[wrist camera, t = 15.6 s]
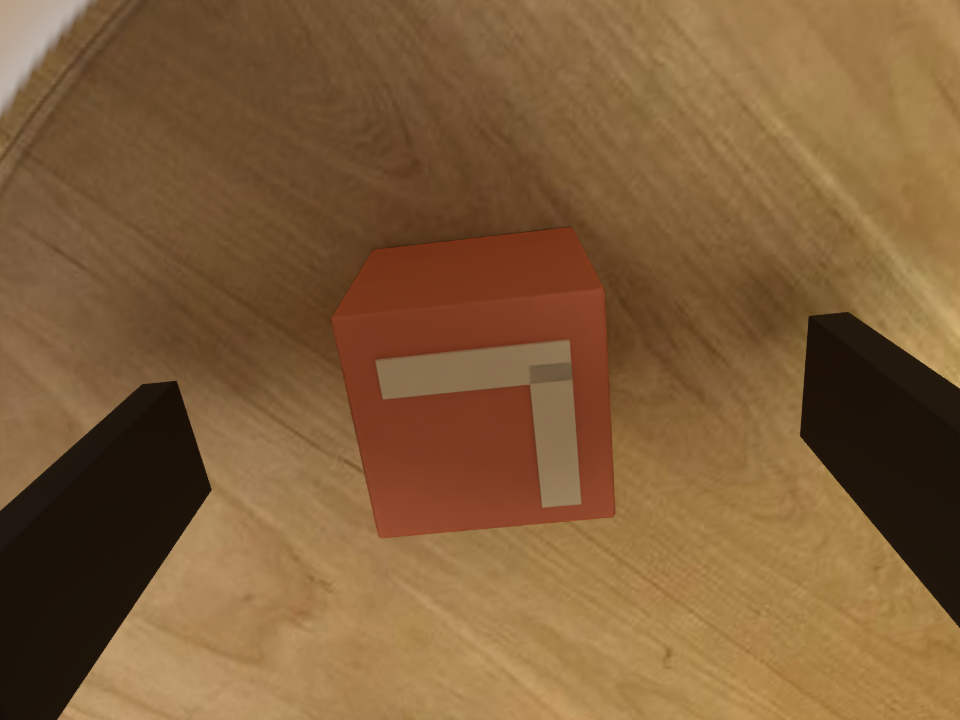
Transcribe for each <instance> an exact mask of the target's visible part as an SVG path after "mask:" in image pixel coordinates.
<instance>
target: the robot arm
mask: <svg viewBox="0 0 960 720" xmlns="http://www.w3.org/2000/svg"><path fill="white" fill-rule="evenodd" d="M800 437H801V438H802V439H803V440H804V441H805V443H806V444H807V445H808V446H809V447H810V449H811V450H812V451H813V452H814V453H815V455H816V456H817V457H818V458H819V459H820V461H821V462H822V463H823V464H824V465H825V467H826V468H827V469H828V470H829V471H830V473H831V474H832V475H833V476H834V477H835V479H836V480H837V481H838V482H839V483H840V485H841V486H842V487H843V488H844V489H845V491H846V492H847V493H848V494H849V495H850V497H851V498H852V499H853V500H854V501H855V503H856V504H857V505H858V506H859V507H860V509H861V510H862V511H863V512H864V513H865V515H866V516H867V517H868V518H869V519H870V521H871V522H872V523H873V524H874V525H875V527H876V528H877V529H878V530H879V531H880V533H881V534H882V535H883V536H884V537H885V539H886V540H887V541H888V542H889V544H890V545H891V546H892V547H893V548H894V550H895V551H896V552H897V553H898V554H899V556H900V557H901V558H902V559H903V560H904V562H905V563H906V564H907V565H908V566H909V568H910V569H911V570H912V571H913V572H914V574H915V575H916V576H917V577H918V578H919V580H920V581H921V582H922V583H923V584H924V586H925V587H926V588H927V589H928V590H929V592H930V593H931V594H932V595H933V596H934V598H935V599H936V600H937V601H938V602H939V604H940V605H941V606H942V607H943V608H944V610H945V611H946V612H947V613H948V614H949V616H950V617H951V618H952V619H953V620H954V622H955V623H956V624H957V625H958V626H959V628H960V389H959V388H958V387H957V386H955V385H954V384H952V383H951V382H949V381H948V380H946V379H945V378H943V377H942V376H941V375H939V374H938V373H936V372H935V371H933V370H932V369H930V368H929V367H927V366H926V365H925V364H923V363H922V362H920V361H919V360H917V359H916V358H914V357H913V356H911V355H910V354H909V353H907V352H906V351H904V350H903V349H901V348H900V347H898V346H897V345H895V344H894V343H893V342H891V341H890V340H888V339H887V338H885V337H884V336H882V335H881V334H879V333H878V332H876V331H875V330H874V329H872V328H871V327H869V326H868V325H866V324H865V323H863V322H862V321H860V320H859V319H858V318H856V317H855V316H853V315H852V314H850V313H849V312H843V313H834V314H824V315H814V316H809V320H808V334H807V348H806V361H805V375H804V389H803V402H802V416H801V429H800ZM211 490H212V489H211V486H210V483H209V480H208V477H207V474H206V470H205V467H204V464H203V461H202V458H201V455H200V452H199V449H198V446H197V442H196V439H195V436H194V433H193V430H192V427H191V424H190V421H189V418H188V415H187V411H186V408H185V405H184V402H183V399H182V396H181V393H180V390H179V387H178V383H177V381H170V382H160V383H151V384H142V385H141V386H140V387H139V388H137V389H136V390H135V391H134V392H133V393H132V394H131V395H130V396H128V397H127V398H126V399H125V400H124V401H123V402H122V403H121V404H120V405H118V406H117V407H116V408H115V409H114V410H113V411H112V412H111V413H109V414H108V415H107V416H106V417H105V418H104V419H103V420H102V421H101V422H99V423H98V424H97V425H96V426H95V427H94V428H93V429H92V430H90V431H89V432H88V433H87V434H86V435H85V436H84V437H83V438H81V439H80V440H79V441H78V442H77V443H76V444H75V445H74V446H73V447H71V448H70V449H69V450H68V451H67V452H66V453H65V454H64V455H62V456H61V457H60V458H59V459H58V460H57V461H56V462H55V463H54V464H52V465H51V466H50V467H49V468H48V469H47V470H46V471H45V472H43V473H42V474H41V475H40V476H39V477H38V478H37V479H36V480H34V481H33V482H32V483H31V484H30V485H29V486H28V487H27V488H26V489H24V490H23V491H22V492H21V493H20V494H19V495H18V496H17V497H15V498H14V499H13V500H12V501H11V502H10V503H9V504H8V505H7V506H5V507H4V508H3V509H2V510H1V511H0V720H57V719H58V718H59V716H60V715H61V713H62V712H63V710H64V709H65V707H66V706H67V704H68V703H69V701H70V700H71V698H72V697H73V695H74V694H75V692H76V691H77V689H78V688H79V686H80V685H81V683H82V682H83V680H84V679H85V678H86V676H87V675H88V673H89V672H90V670H91V669H92V667H93V666H94V664H95V663H96V661H97V660H98V658H99V657H100V655H101V654H102V652H103V651H104V649H105V648H106V646H107V645H108V643H109V642H110V640H111V639H112V637H113V636H114V634H115V633H116V631H117V630H118V628H119V627H120V625H121V624H122V623H123V621H124V620H125V618H126V617H127V615H128V614H129V612H130V611H131V609H132V608H133V606H134V605H135V603H136V602H137V600H138V599H139V597H140V596H141V594H142V593H143V591H144V590H145V588H146V587H147V585H148V584H149V582H150V581H151V579H152V578H153V576H154V575H155V573H156V572H157V570H158V569H159V568H160V566H161V565H162V563H163V562H164V560H165V559H166V557H167V556H168V554H169V553H170V551H171V550H172V548H173V547H174V545H175V544H176V542H177V541H178V539H179V538H180V536H181V535H182V533H183V532H184V530H185V529H186V527H187V526H188V524H189V523H190V521H191V520H192V518H193V517H194V515H195V514H196V513H197V511H198V510H199V508H200V507H201V505H202V504H203V502H204V501H205V499H206V498H207V496H208V495H209V493H210V492H211Z"/></svg>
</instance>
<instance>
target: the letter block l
mask: <svg viewBox="0 0 960 720" xmlns="http://www.w3.org/2000/svg"><path fill="white" fill-rule="evenodd" d="M331 323H332V328H333V332H334V337H335V341H336V346H337V350H338V355H339V360H340V364H341V369H342V373H343V378H344V382H345V387H346V392H347V396H348V401H349V405H350V410H351V414H352V419H353V423H354V428H355V433H356V437H357V442H358V446H359V451H360V455H361V460H362V465H363V469H364V474H365V478H366V483H367V487H368V492H369V496H370V501H371V506H372V510H373V515H374V519H375V524H376V528H377V533H378V536H379V538H388V537H399V536H410V535H421V534H432V533H444V532H455V531H466V530H477V529H488V528H499V527H510V526H521V525H532V524H543V523H554V522H565V521H576V520H587V519H598V518H609V517H614V516H615V493H614V472H613V451H612V431H611V410H610V389H609V368H608V347H607V326H606V306H605V290H604V288H603V286H602V284H601V282H600V280H599V278H598V276H597V274H596V273H595V271H594V269H593V267H592V265H591V263H590V261H589V259H588V257H587V255H586V253H585V251H584V249H583V247H582V245H581V243H580V241H579V239H578V237H577V235H576V233H575V232H574V230H573V228H572V227H567V228H558V229H549V230H541V231H532V232H523V233H515V234H506V235H497V236H488V237H480V238H471V239H462V240H454V241H445V242H436V243H428V244H419V245H410V246H402V247H393V248H384V249H375V250H373V251H372V253H371V254H370V256H369V257H368V259H367V261H366V262H365V264H364V266H363V267H362V269H361V271H360V272H359V274H358V275H357V277H356V279H355V280H354V282H353V284H352V285H351V287H350V288H349V290H348V292H347V293H346V295H345V297H344V298H343V300H342V302H341V303H340V305H339V306H338V308H337V310H336V311H335V313H334V315H333V316H332V318H331Z"/></svg>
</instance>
